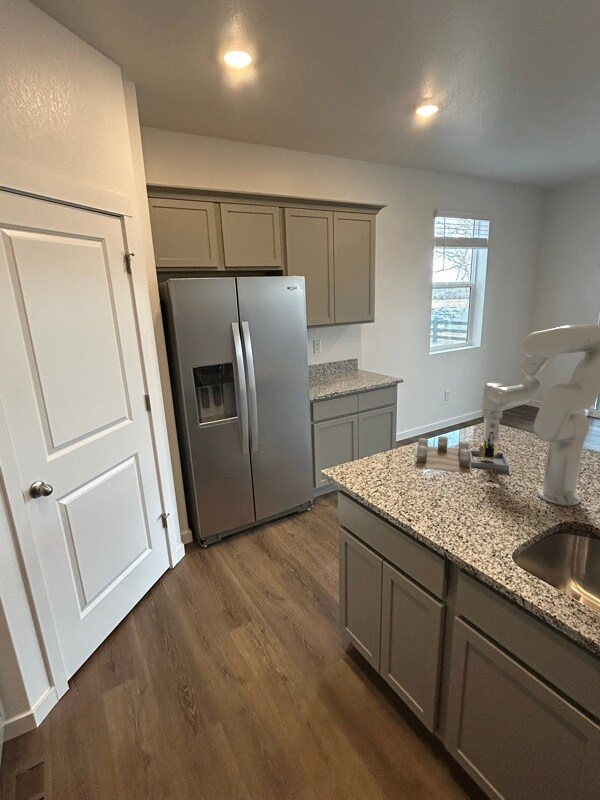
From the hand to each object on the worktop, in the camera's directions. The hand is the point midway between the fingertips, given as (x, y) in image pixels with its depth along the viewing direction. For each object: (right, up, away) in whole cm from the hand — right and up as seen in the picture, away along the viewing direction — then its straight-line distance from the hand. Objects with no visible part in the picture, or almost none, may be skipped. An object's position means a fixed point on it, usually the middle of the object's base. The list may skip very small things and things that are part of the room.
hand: (488, 453), depth 164 cm
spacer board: (-17, -4, +6) cm, 19 cm away
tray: (0, -5, +1) cm, 5 cm away
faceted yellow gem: (0, -1, 0) cm, 1 cm away
